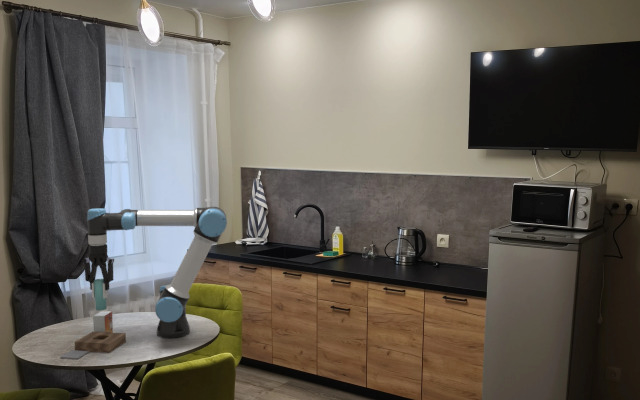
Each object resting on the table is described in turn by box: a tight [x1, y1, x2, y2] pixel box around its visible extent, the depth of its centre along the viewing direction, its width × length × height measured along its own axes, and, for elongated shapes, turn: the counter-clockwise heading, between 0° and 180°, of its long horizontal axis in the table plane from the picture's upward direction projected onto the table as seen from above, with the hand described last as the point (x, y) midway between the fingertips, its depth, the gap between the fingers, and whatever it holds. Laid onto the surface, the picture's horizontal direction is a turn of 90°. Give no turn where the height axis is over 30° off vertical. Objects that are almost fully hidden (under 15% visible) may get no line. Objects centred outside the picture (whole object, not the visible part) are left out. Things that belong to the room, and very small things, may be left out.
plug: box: [94, 278, 108, 312], centre depth 244 cm, size 4×4×13 cm
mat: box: [59, 349, 90, 360], centre depth 235 cm, size 8×8×1 cm
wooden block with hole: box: [74, 331, 127, 354], centre depth 245 cm, size 16×14×4 cm
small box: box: [92, 310, 114, 333], centre depth 260 cm, size 8×6×10 cm
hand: (100, 297), depth 244 cm, fingers closed on plug, 4 cm apart
